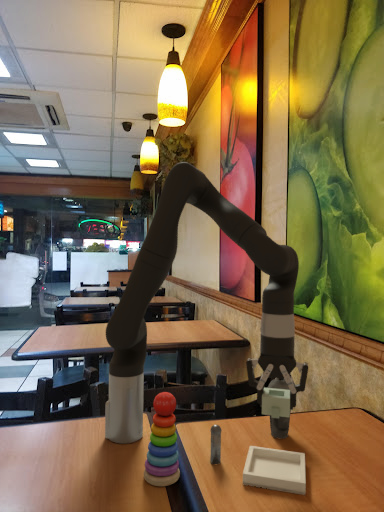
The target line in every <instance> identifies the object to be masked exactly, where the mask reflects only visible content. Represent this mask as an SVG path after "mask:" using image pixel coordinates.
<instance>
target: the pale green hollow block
mask: <svg viewBox="0 0 384 512" xmlns="http://www.w3.org/2000/svg"><path fill="white" fill-rule="evenodd" d="M263 388H264V392H263V394H262V407H261V415H265V416H270V415H271V418H279V416H281V417H289V418H290V419H291V413H290V390H285V389H275V388H268V387H265V386H263Z"/></svg>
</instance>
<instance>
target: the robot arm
mask: <svg viewBox="0 0 384 512" xmlns="http://www.w3.org/2000/svg"><path fill="white" fill-rule="evenodd" d="M186 204H189V205H191V206H193V207H195V208H196V209H198V210H200V211H201V212H203V213H205V214H206V215H208V216H209V217H210V218H211V219H212V221H214V223H215V224H216V225H217V226H218V228H219V229H220V230H221V231H222V232H223V233H224V234H225V235H226V236H227V237H228V238H229V239H230V240H231V241H233V243H235V244H236V245H237V246H238V247H239V248H240V249H241V250H242V251H244V252H245V254H246V255H247V257H249V259H250V260H251V261H252V263H253V264H254V265H255V266H256V267H257V268H258V269H259V270H260V271H262V272H263V273H264V274H266V275H268V276H269V278H268V284H267V286H266V287H265V288H264V289H263V291H262V295H261V296H262V297H261V303H262V304H261V317H260V319H261V320H260V328H259V330H260V331H259V332H260V342H259V343H260V349H259V350H260V351H259V353H260V354H259V357H258V358H251V357H249V358H247V360H246V362H245V365H246V372H247V380H248V385H249V387H252V388H255V389H256V402H257V404H259V407H260V408H262V394H263V392H264V387H265V383H266V382H267V380H268V378H269V379H275V378H278V379H285V381H286V383H287V385H288V386H289V389H290V410H291V411H293V410H294V408H296V407H297V394H298V393H300V392H304V391H305V389H306V384H307V379H308V378H307V377H308V372H309V363H308V362H307V361H305V362H298V361H297V360H296V358H295V339H296V338H295V332H296V329H295V328H296V326H295V325H296V323H295V314H294V310H295V309H294V308H295V298H294V297H295V296H294V295H295V294H294V293H295V288H296V285H297V280H298V277H299V276H298V275H299V266H300V265H299V264H300V261H299V256H298V254H297V252H296V250H295V249H294V248H293V247H292V246H290V245H286V244H279V243H277V242H275V241H274V240H273V239H272V238H271V237H269V235H268V234H267V231H266V229H265V228H264V227H263V226H262V225H261V224H259V222H257V221H256V220H255V219H253V218H252V217H251V216H250V215H248V213H246V212H245V211H243V210H242V209H240V208H239V207H237V205H235V204H233V203H232V202H231V201H229V200H228V199H227V198H226V197H225V196H224V195H222V194H221V192H220V191H219V190H218V189H217V187H215V185H214V184H213V183H212V182H211V181H210V179H209V178H208V177H207V176H206V174H205V173H204V172H202V171H201V170H200V169H198V168H197V167H196V166H194V165H193V164H192V163H189V162H185V161H182V162H178V163H176V164H175V165H173V166H172V167H171V168H170V170H169V171H168V173H167V174H166V178H165V179H164V182H163V187H162V190H161V193H160V196H159V201H158V203H157V207H156V210H155V212H154V215H153V217H152V220H151V222H150V225H149V227H148V231H147V233H146V236H145V238H144V240H143V242H142V244H141V247H140V249H139V252H138V254H137V257H136V259H135V261H134V264H133V267H132V270H131V273H130V274H129V278H128V280H127V283H126V286H125V288H124V291H123V293H122V296H121V298H120V300H119V302H117V306H116V308H115V309H114V311H113V313H112V315H111V317H110V319H109V320H108V322H107V324H106V327H105V339H106V342H107V344H108V345H109V346H110V347H111V348H112V349H113V355H112V357H111V359H110V362H109V363H108V400H107V401H106V402H105V406H104V407H105V409H104V410H105V414H104V417H105V418H104V420H105V422H104V439H108V440H109V441H111V442H113V443H116V444H130V443H131V444H132V443H135V442H137V441H139V440H141V439H142V437H143V435H144V434H143V431H144V425H143V424H144V375H145V374H144V371H145V369H144V368H145V363H146V359H147V347H148V346H147V345H148V343H147V342H148V341H147V340H148V329H147V328H148V327H147V323H146V320H145V318H144V317H145V315H146V312H147V309H148V307H149V304H150V303H151V301H152V300H153V298H154V297H155V296H156V294H157V292H158V291H159V290H160V288H161V286H162V285H163V284H164V282H165V280H166V279H167V277H168V275H169V273H170V270H171V268H172V265H173V263H174V261H175V259H176V256H177V252H178V240H179V234H178V232H179V222H180V219H181V216H182V213H183V210H184V208H185V206H186ZM257 365H258V366H259V367H260V368H261V370H262V371H263V372H262V374H261V376H260V379H259V380H257V379H256V377H255V369H256V367H257ZM295 368H297V371H298V373H299V374H300V378H299V384H295V383H296V382H295V381H294V378H293V376H292V374H291V373H292V372H293V370H295Z"/></svg>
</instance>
